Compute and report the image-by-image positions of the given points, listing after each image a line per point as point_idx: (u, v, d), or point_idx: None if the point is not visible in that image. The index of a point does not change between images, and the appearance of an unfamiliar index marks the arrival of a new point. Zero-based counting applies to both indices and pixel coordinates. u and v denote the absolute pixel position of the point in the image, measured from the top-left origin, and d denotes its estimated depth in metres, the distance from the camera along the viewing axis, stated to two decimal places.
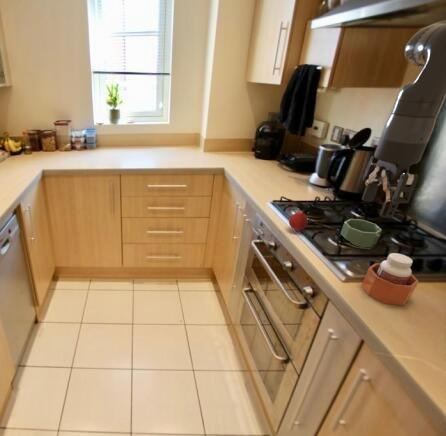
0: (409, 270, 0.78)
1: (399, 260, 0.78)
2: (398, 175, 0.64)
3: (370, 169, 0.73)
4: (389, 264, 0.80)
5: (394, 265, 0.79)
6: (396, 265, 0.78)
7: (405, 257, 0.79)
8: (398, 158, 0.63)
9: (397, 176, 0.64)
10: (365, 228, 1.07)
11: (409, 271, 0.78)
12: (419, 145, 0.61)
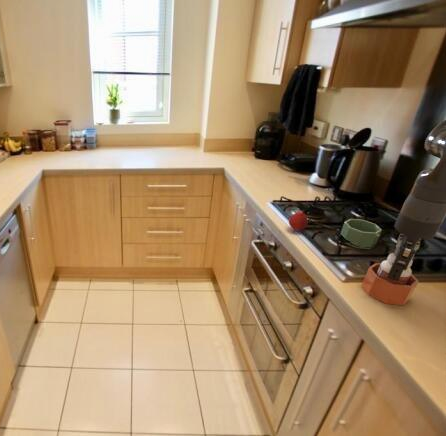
0: (409, 270, 0.78)
1: None
2: (404, 245, 0.74)
3: None
4: (389, 264, 0.80)
5: None
6: None
7: None
8: (406, 230, 0.73)
9: (403, 245, 0.74)
10: (365, 228, 1.07)
11: (409, 271, 0.78)
12: (425, 224, 0.71)
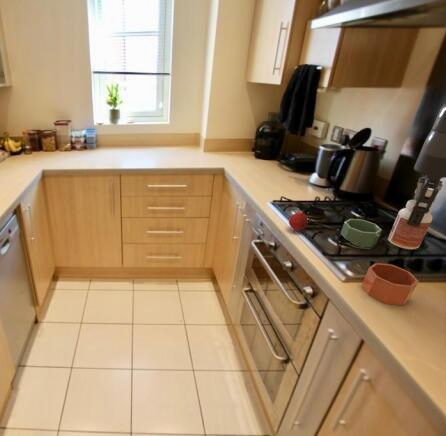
0: (430, 216, 0.74)
1: (419, 205, 0.73)
2: (426, 186, 0.69)
3: None
4: (408, 210, 0.75)
5: None
6: None
7: (425, 203, 0.74)
8: (427, 170, 0.69)
9: (425, 187, 0.70)
10: (365, 228, 1.07)
11: (430, 217, 0.73)
12: None
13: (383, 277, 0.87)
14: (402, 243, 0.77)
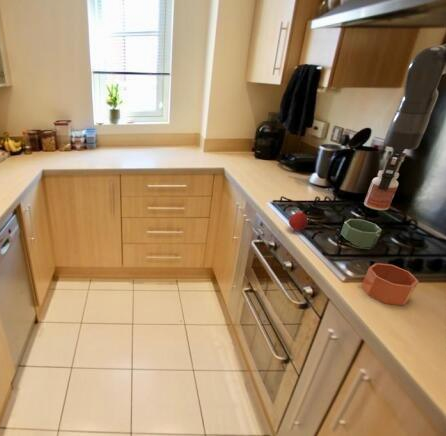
0: (396, 182, 0.91)
1: None
2: (392, 156, 0.87)
3: None
4: (379, 178, 0.92)
5: None
6: None
7: None
8: (393, 143, 0.86)
9: (391, 157, 0.87)
10: (365, 228, 1.07)
11: (396, 182, 0.91)
12: (409, 134, 0.83)
13: (383, 277, 0.87)
14: (374, 205, 0.94)
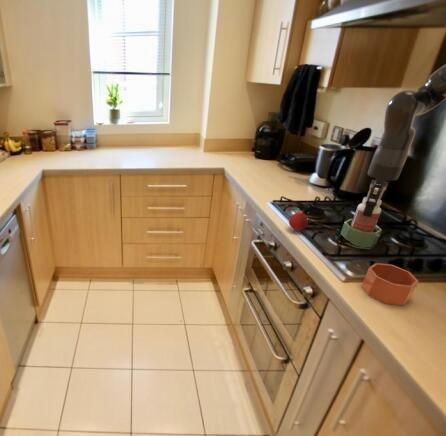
0: (379, 209, 0.98)
1: (371, 201, 0.98)
2: (374, 186, 0.94)
3: None
4: (363, 204, 1.00)
5: None
6: None
7: None
8: (375, 174, 0.94)
9: (374, 187, 0.95)
10: None
11: (379, 209, 0.98)
12: (390, 167, 0.91)
13: (383, 277, 0.87)
14: (359, 229, 1.02)
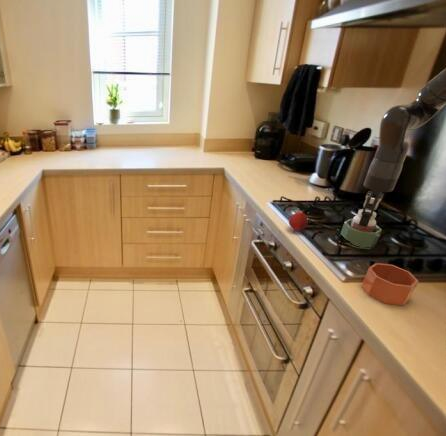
0: (374, 221, 1.01)
1: None
2: None
3: None
4: (359, 217, 1.02)
5: None
6: None
7: None
8: (371, 186, 0.96)
9: None
10: None
11: (374, 222, 1.00)
12: (385, 180, 0.93)
13: (383, 277, 0.87)
14: None
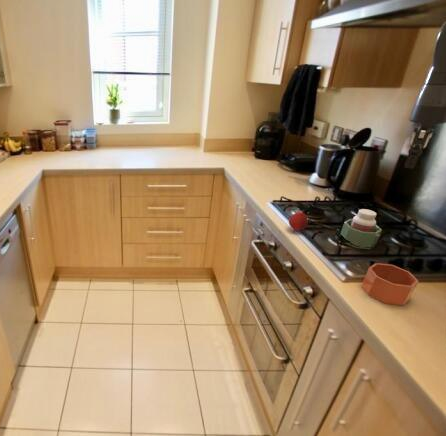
0: (374, 221, 1.01)
1: (366, 213, 1.00)
2: None
3: None
4: (359, 217, 1.02)
5: (362, 217, 1.01)
6: (364, 217, 1.01)
7: (371, 211, 1.02)
8: (420, 118, 0.81)
9: None
10: None
11: (374, 222, 1.00)
12: (438, 108, 0.78)
13: (383, 277, 0.87)
14: None
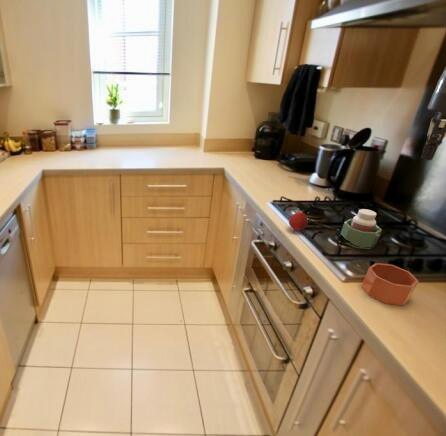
0: (374, 221, 1.01)
1: (366, 213, 1.00)
2: None
3: None
4: (359, 217, 1.02)
5: (362, 217, 1.01)
6: (364, 217, 1.01)
7: (371, 211, 1.02)
8: (440, 106, 0.77)
9: None
10: None
11: (374, 222, 1.00)
12: None
13: (383, 277, 0.87)
14: None
